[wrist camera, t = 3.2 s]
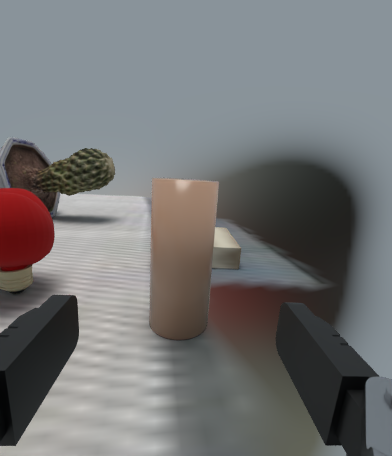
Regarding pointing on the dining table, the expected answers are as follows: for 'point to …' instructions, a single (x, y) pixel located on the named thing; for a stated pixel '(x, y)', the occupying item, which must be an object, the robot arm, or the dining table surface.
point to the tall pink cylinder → (181, 255)
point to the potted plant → (52, 171)
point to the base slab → (225, 250)
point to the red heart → (22, 237)
